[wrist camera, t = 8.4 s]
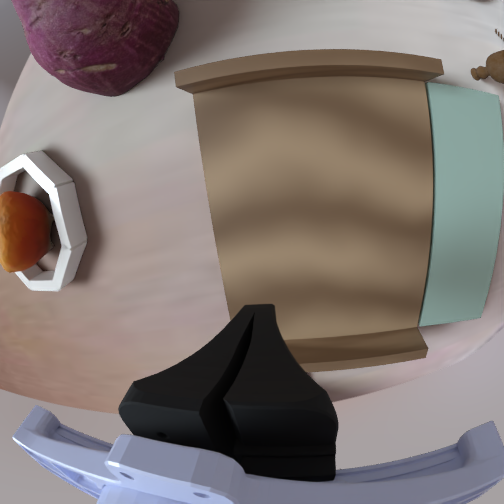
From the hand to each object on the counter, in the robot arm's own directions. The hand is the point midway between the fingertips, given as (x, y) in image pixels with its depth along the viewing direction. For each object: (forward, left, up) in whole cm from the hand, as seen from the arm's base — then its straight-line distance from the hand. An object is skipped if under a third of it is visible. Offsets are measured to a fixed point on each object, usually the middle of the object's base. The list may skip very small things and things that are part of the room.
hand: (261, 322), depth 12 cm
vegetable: (+19, +10, -10) cm, 24 cm away
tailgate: (+2, -12, -8) cm, 15 cm away
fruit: (+5, +24, -10) cm, 26 cm away
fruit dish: (+5, +24, -9) cm, 26 cm away
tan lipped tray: (+2, -4, -9) cm, 10 cm away
